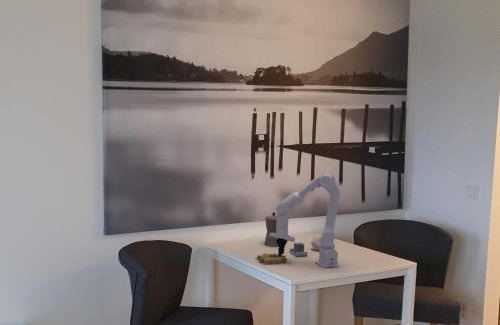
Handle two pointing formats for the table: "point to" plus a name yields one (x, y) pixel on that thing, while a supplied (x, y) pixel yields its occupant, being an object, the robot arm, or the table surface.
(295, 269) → the table surface
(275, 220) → the coffeepot
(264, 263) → the thin square base plate
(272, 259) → the sprocket
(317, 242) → the grey faceted polyhedron
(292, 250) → the seat
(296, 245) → the dark grey block
